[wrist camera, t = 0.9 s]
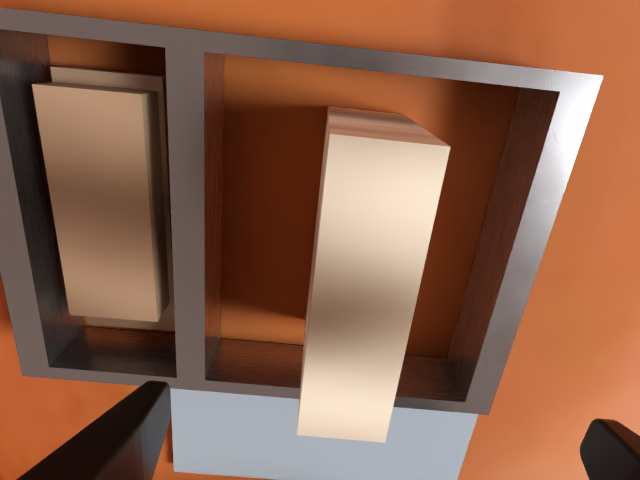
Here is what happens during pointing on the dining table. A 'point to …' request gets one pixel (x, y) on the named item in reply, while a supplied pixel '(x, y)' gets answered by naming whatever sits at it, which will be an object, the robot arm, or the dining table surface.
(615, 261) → the dining table surface
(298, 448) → the mat
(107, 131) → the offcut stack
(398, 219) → the beige wooden block
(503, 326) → the rack
